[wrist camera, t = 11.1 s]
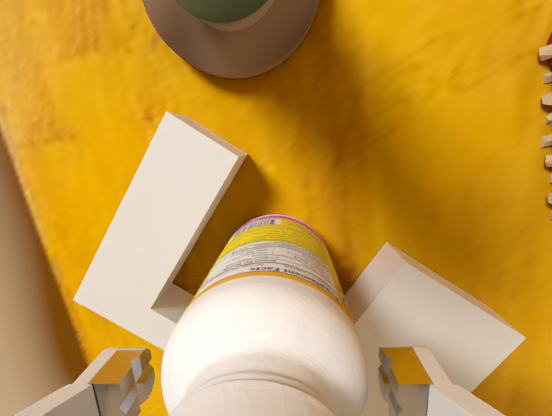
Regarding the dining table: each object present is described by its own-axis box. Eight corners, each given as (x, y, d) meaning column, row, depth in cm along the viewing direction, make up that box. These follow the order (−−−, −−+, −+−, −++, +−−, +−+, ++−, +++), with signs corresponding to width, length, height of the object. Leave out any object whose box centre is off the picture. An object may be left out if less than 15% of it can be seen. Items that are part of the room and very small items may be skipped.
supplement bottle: (299, 322, 19) (316, 670, 6) (210, 281, 19) (46, 564, 6) (348, 239, 17) (493, 482, 5) (252, 192, 17) (148, 327, 5)
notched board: (488, 306, 18) (526, 337, 15) (374, 427, 21) (388, 474, 18) (188, 116, 16) (166, 111, 13) (106, 275, 19) (73, 300, 16)
